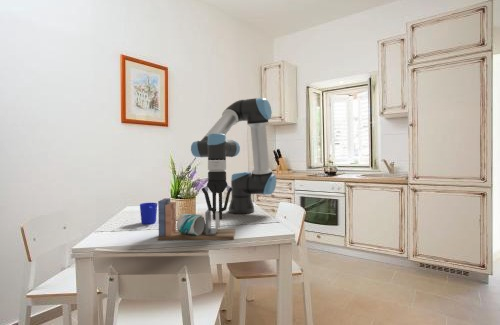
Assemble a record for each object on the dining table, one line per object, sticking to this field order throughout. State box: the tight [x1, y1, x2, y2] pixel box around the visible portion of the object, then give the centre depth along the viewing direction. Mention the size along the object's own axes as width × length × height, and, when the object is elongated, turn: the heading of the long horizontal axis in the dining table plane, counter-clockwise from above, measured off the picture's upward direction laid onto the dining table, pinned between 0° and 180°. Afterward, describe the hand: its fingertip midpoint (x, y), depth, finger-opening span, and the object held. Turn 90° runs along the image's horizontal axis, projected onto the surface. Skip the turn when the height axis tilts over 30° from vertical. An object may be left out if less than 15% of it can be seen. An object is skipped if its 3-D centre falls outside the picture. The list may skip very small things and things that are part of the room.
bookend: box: [204, 209, 219, 235], centre depth 120 cm, size 9×4×9 cm, turn 1°
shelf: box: [157, 197, 236, 241], centre depth 120 cm, size 12×30×15 cm, turn 91°
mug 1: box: [139, 202, 158, 225], centre depth 143 cm, size 8×12×10 cm
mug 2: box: [176, 213, 206, 236], centre depth 120 cm, size 8×12×8 cm
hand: (217, 227), depth 120 cm, fingers closed
